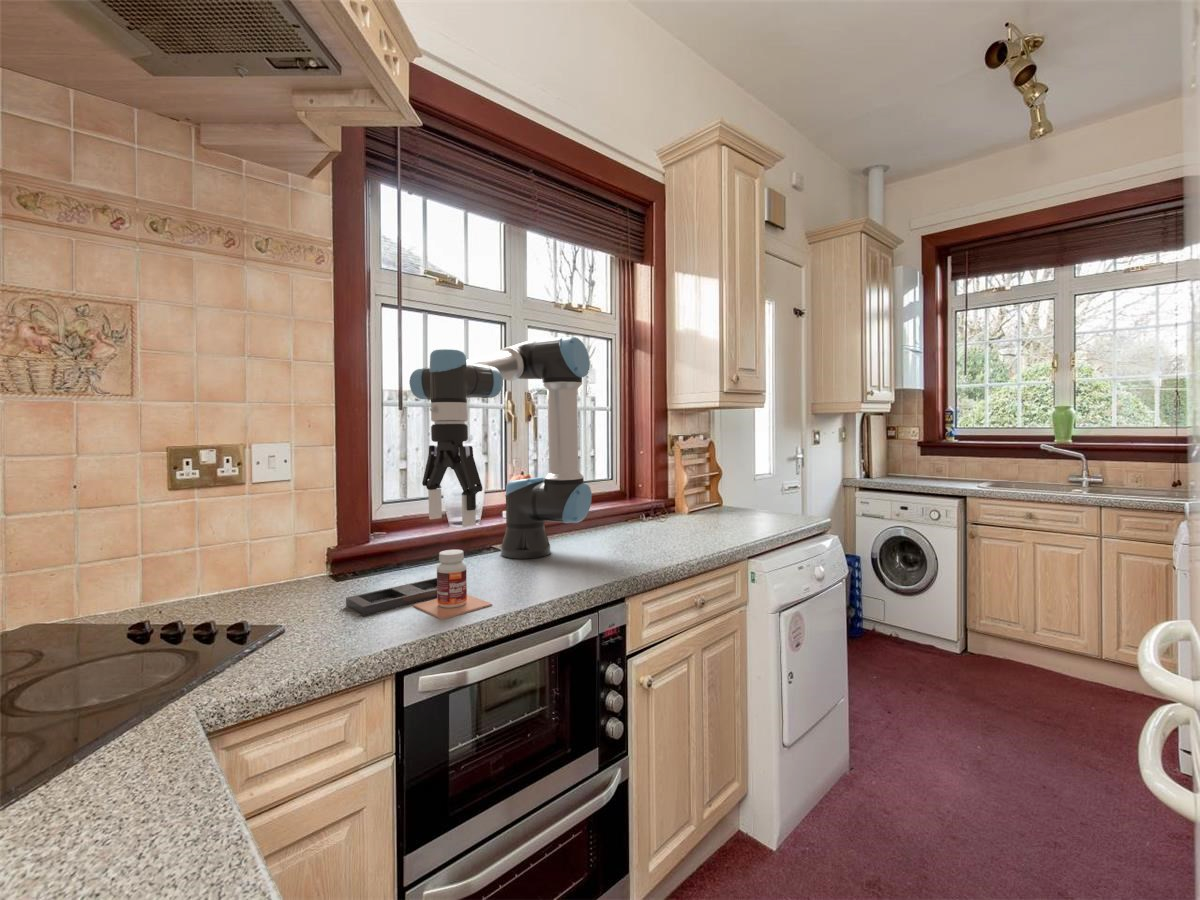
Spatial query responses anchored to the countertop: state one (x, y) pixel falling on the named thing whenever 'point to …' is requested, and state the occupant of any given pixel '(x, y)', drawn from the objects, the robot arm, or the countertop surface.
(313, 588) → the countertop surface
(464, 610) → the plate
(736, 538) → the countertop surface
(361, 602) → the compartment tray
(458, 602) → the pill bottle
